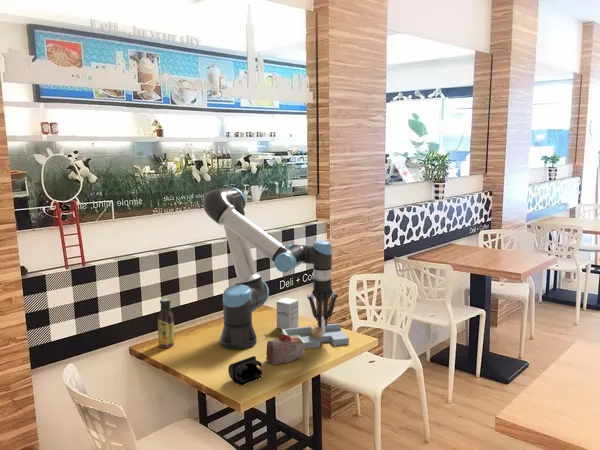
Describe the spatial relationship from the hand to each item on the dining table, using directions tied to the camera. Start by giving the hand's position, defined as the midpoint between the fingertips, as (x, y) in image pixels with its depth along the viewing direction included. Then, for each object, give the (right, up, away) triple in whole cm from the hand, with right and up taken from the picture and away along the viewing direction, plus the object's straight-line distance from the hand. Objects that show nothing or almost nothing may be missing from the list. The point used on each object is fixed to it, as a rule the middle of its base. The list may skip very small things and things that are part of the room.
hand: (322, 333), depth 210 cm
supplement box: (-15, -1, +17) cm, 23 cm away
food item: (-15, -7, -17) cm, 24 cm away
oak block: (-3, -1, -1) cm, 3 cm away
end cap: (-29, -9, -32) cm, 44 cm away
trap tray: (-3, -4, 0) cm, 5 cm away
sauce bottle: (-64, -5, -3) cm, 65 cm away
